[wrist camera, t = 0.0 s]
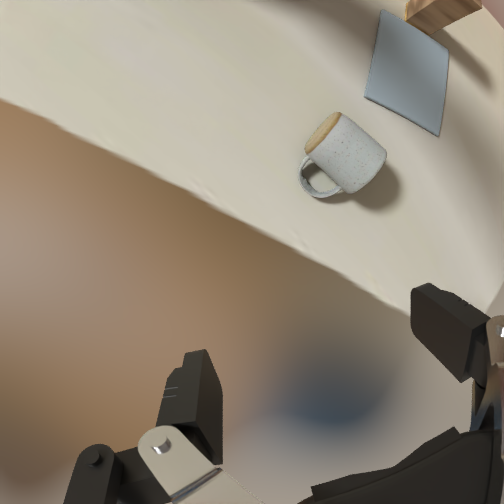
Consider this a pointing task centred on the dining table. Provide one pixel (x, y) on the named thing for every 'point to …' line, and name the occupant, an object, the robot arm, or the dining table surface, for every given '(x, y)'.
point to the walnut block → (438, 13)
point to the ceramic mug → (342, 155)
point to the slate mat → (408, 73)
